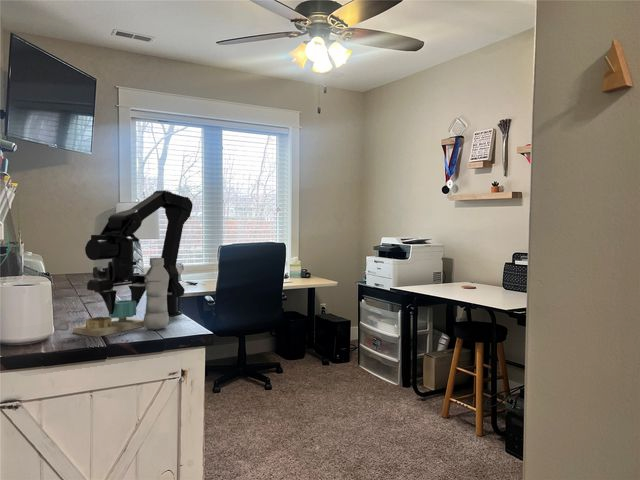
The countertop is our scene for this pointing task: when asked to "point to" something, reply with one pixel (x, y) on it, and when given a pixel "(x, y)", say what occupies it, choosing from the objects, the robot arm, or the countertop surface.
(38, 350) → the countertop surface
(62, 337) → the countertop surface
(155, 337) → the countertop surface
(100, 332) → the gear board
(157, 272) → the plastic bottle
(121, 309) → the teal gear
